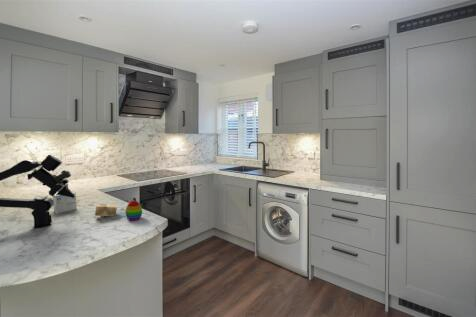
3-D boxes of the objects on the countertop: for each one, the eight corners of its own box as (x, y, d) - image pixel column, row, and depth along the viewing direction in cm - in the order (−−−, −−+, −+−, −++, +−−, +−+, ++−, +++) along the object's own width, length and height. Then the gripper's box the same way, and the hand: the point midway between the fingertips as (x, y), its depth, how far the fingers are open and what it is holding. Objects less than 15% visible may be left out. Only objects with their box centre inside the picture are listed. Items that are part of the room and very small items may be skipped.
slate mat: (100, 220, 132) (100, 217, 132) (101, 215, 141) (101, 212, 141) (126, 216, 138) (125, 213, 138) (125, 211, 147) (125, 209, 147)
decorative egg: (123, 219, 133) (122, 201, 132) (137, 215, 139) (136, 198, 138) (130, 222, 128) (129, 203, 127) (145, 218, 134) (144, 200, 133)
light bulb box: (73, 207, 158) (72, 190, 157) (77, 209, 154) (76, 192, 153) (53, 211, 150) (51, 194, 149) (56, 213, 146) (55, 195, 145)
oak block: (96, 206, 133) (117, 207, 137) (97, 203, 138) (117, 204, 143) (94, 215, 133) (115, 216, 137) (95, 212, 138) (115, 213, 143)
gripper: (54, 167, 119) (83, 188, 124) (62, 164, 135) (87, 182, 141) (35, 186, 116) (66, 205, 122) (46, 180, 133) (72, 197, 138)
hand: (74, 196), depth 131 cm, fingers closed
